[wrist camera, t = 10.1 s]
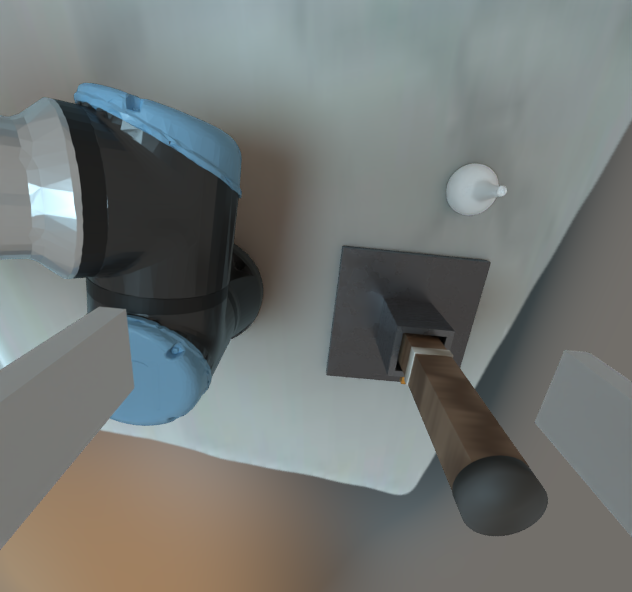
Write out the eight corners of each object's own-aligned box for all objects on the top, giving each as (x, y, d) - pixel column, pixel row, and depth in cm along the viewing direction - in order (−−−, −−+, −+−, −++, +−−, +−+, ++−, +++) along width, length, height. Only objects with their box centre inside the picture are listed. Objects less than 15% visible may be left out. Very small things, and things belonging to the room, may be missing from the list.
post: (389, 363, 44) (452, 532, 23) (397, 323, 42) (473, 472, 21) (432, 366, 44) (531, 538, 23) (443, 327, 42) (560, 479, 21)
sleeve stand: (326, 370, 53) (328, 414, 44) (342, 245, 46) (348, 265, 37) (451, 382, 54) (479, 427, 45) (486, 260, 47) (528, 283, 37)
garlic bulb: (433, 183, 43) (457, 187, 36) (477, 152, 42) (510, 149, 35) (456, 222, 45) (483, 233, 38) (499, 194, 44) (535, 200, 37)
